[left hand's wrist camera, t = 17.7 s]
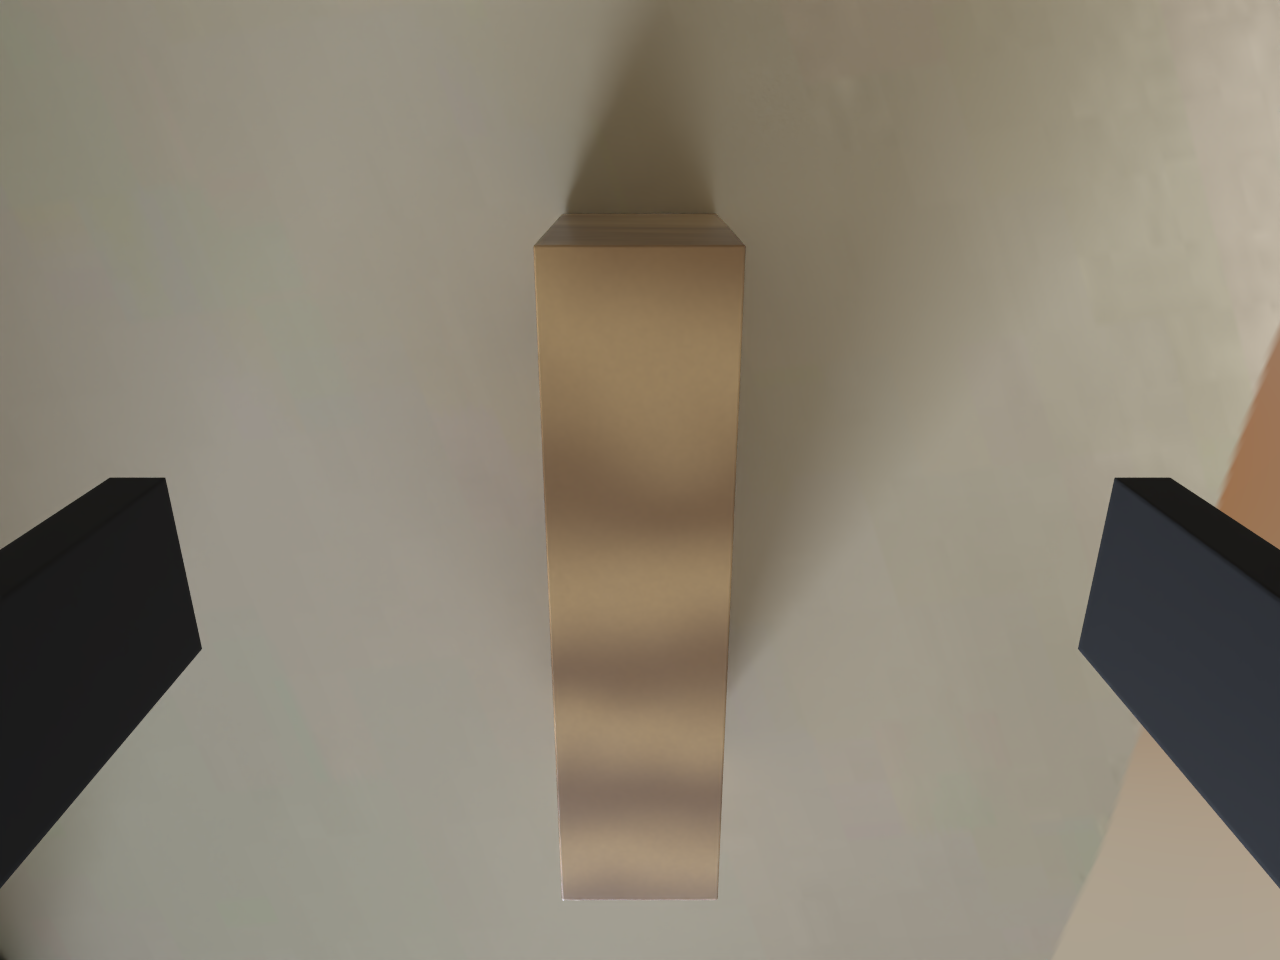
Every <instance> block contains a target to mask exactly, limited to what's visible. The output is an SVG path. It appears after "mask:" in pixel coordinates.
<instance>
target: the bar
mask: <svg viewBox="0 0 1280 960" xmlns="http://www.w3.org/2000/svg"><path fill="white" fill-rule="evenodd" d="M533 248H534V271H535V293H536V316H537V339H538V362H539V385H540V408H541V431H542V454H543V477H544V500H545V523H546V546H547V569H548V592H549V615H550V638H551V661H552V684H553V707H554V729H555V752H556V775H557V798H558V821H559V844H560V867H561V890H562V900H717V898H718V877H719V854H720V831H721V808H722V784H723V761H724V738H725V715H726V692H727V668H728V645H729V622H730V599H731V576H732V552H733V529H734V506H735V483H736V460H737V436H738V413H739V390H740V367H741V344H742V320H743V297H744V274H745V251H746V247H745V245H744V244H743V243H742V242H741V240H740V239H739V238H738V237H737V236H736V235H735V234H734V233H733V232H732V231H731V229H730V228H729V227H728V226H727V225H726V224H725V223H724V222H723V221H722V220H721V218H720V217H719V216H718V215H717V214H562V215H561V216H560V217H559V219H558V220H557V221H556V222H555V223H554V224H553V225H552V226H551V227H550V228H549V230H548V231H547V232H546V233H545V234H544V235H543V236H542V237H541V238H540V240H539V241H538V242H537V243H536V244H535V245H534V247H533Z"/></svg>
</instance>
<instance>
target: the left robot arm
mask: <svg viewBox="0 0 1280 960" xmlns="http://www.w3.org/2000/svg"><path fill="white" fill-rule="evenodd" d="M201 649H202V647H201V642H200V638H199V633H198V628H197V624H196V619H195V614H194V610H193V605H192V600H191V596H190V591H189V586H188V582H187V577H186V572H185V568H184V563H183V558H182V554H181V549H180V544H179V540H178V535H177V530H176V526H175V521H174V516H173V512H172V507H171V502H170V498H169V493H168V488H167V484H166V479H165V478H109V479H107V480H106V481H104V482H103V483H101V484H100V485H98V486H97V487H95V488H93V489H92V490H90V491H89V492H87V493H86V494H84V495H83V496H81V497H80V498H78V499H77V500H75V501H74V502H72V503H71V504H69V505H68V506H66V507H65V508H63V509H62V510H60V511H59V512H57V513H56V514H54V515H52V516H51V517H49V518H48V519H46V520H45V521H43V522H42V523H40V524H39V525H37V526H36V527H34V528H33V529H31V530H30V531H28V532H27V533H25V534H24V535H22V536H21V537H19V538H18V539H16V540H15V541H13V542H11V543H10V544H8V545H7V546H5V547H4V548H2V549H1V550H0V888H1V887H2V886H3V885H4V883H5V882H6V881H7V880H8V879H9V877H10V876H11V875H12V874H13V873H14V871H15V870H16V869H17V868H18V867H19V866H20V864H21V863H22V862H23V861H24V860H25V858H26V857H27V856H28V855H29V854H30V852H31V851H32V850H33V849H34V848H35V847H36V845H37V844H38V843H39V842H40V841H41V839H42V838H43V837H44V836H45V835H46V833H47V832H48V831H49V830H50V829H51V828H52V826H53V825H54V824H55V823H56V822H57V820H58V819H59V818H60V817H61V816H62V814H63V813H64V812H65V811H66V810H67V809H68V807H69V806H70V805H71V804H72V803H73V801H74V800H75V799H76V798H77V797H78V795H79V794H80V793H81V792H82V791H83V790H84V788H85V787H86V786H87V785H88V784H89V782H90V781H91V780H92V779H93V778H94V776H95V775H96V774H97V773H98V772H99V771H100V769H101V768H102V767H103V766H104V765H105V763H106V762H107V761H108V760H109V759H110V757H111V756H112V755H113V754H114V753H115V752H116V750H117V749H118V748H119V747H120V746H121V744H122V743H123V742H124V741H125V740H126V738H127V737H128V736H129V735H130V734H131V733H132V731H133V730H134V729H135V728H136V727H137V725H138V724H139V723H140V722H141V721H142V719H143V718H144V717H145V716H146V715H147V714H148V712H149V711H150V710H151V709H152V708H153V706H154V705H155V704H156V703H157V702H158V700H159V699H160V698H161V697H162V696H163V695H164V693H165V692H166V691H167V690H168V689H169V687H170V686H171V685H172V684H173V683H174V681H175V680H176V679H177V678H178V677H179V676H180V674H181V673H182V672H183V671H184V670H185V668H186V667H187V666H188V665H189V664H190V662H191V661H192V660H193V659H194V658H195V657H196V655H197V654H198V653H199V652H200V651H201ZM1078 649H1079V651H1080V652H1081V653H1082V654H1083V655H1084V657H1085V658H1086V659H1087V660H1088V661H1089V662H1090V664H1091V665H1092V666H1093V667H1094V668H1095V670H1096V671H1097V672H1098V673H1099V674H1100V676H1101V677H1102V678H1103V679H1104V680H1105V681H1106V683H1107V684H1108V685H1109V686H1110V687H1111V689H1112V690H1113V691H1114V692H1115V693H1116V695H1117V696H1118V697H1119V698H1120V699H1121V700H1122V702H1123V703H1124V704H1125V705H1126V706H1127V708H1128V709H1129V710H1130V711H1131V712H1132V714H1133V715H1134V716H1135V717H1136V718H1137V719H1138V721H1139V722H1140V723H1141V724H1142V725H1143V727H1144V728H1145V729H1146V730H1147V731H1148V732H1149V734H1150V735H1151V736H1152V737H1153V738H1154V740H1155V741H1156V742H1157V743H1158V744H1159V746H1160V747H1161V748H1162V749H1163V750H1164V752H1165V753H1166V754H1167V755H1168V756H1169V757H1170V759H1171V760H1172V761H1173V762H1174V763H1175V765H1176V766H1177V767H1178V768H1179V769H1180V771H1181V772H1182V773H1183V774H1184V775H1185V776H1186V778H1187V779H1188V780H1189V781H1190V782H1191V784H1192V785H1193V786H1194V787H1195V788H1196V789H1197V791H1198V792H1199V793H1200V794H1201V795H1202V797H1203V798H1204V799H1205V800H1206V801H1207V803H1208V804H1209V805H1210V806H1211V807H1212V808H1213V810H1214V811H1215V812H1216V813H1217V814H1218V816H1219V817H1220V818H1221V819H1222V820H1223V822H1224V823H1225V824H1226V825H1227V826H1228V828H1229V829H1230V830H1231V831H1232V832H1233V833H1234V835H1235V836H1236V837H1237V838H1238V839H1239V841H1240V842H1241V843H1242V844H1243V845H1244V847H1245V848H1246V849H1247V850H1248V851H1249V852H1250V854H1251V855H1252V856H1253V857H1254V858H1255V860H1256V861H1257V862H1258V863H1259V864H1260V865H1261V867H1262V868H1263V869H1264V870H1265V871H1266V873H1267V874H1268V875H1269V876H1270V877H1271V879H1272V880H1273V881H1274V882H1275V883H1276V884H1277V886H1278V887H1279V888H1280V550H1279V549H1278V548H1276V547H1275V546H1273V545H1272V544H1270V543H1269V542H1267V541H1265V540H1264V539H1262V538H1261V537H1259V536H1258V535H1256V534H1255V533H1253V532H1252V531H1250V530H1249V529H1247V528H1246V527H1244V526H1243V525H1241V524H1240V523H1238V522H1237V521H1235V520H1234V519H1232V518H1231V517H1229V516H1228V515H1226V514H1224V513H1223V512H1221V511H1220V510H1218V509H1217V508H1215V507H1214V506H1212V505H1211V504H1209V503H1208V502H1206V501H1205V500H1203V499H1202V498H1200V497H1199V496H1197V495H1196V494H1194V493H1193V492H1191V491H1190V490H1188V489H1187V488H1185V487H1183V486H1182V485H1180V484H1179V483H1177V482H1176V481H1174V480H1173V479H1171V478H1115V479H1114V484H1113V488H1112V493H1111V498H1110V502H1109V507H1108V512H1107V516H1106V521H1105V526H1104V530H1103V535H1102V540H1101V544H1100V549H1099V554H1098V558H1097V563H1096V568H1095V572H1094V577H1093V582H1092V586H1091V591H1090V596H1089V600H1088V605H1087V610H1086V614H1085V619H1084V624H1083V628H1082V633H1081V638H1080V642H1079V647H1078Z"/></svg>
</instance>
